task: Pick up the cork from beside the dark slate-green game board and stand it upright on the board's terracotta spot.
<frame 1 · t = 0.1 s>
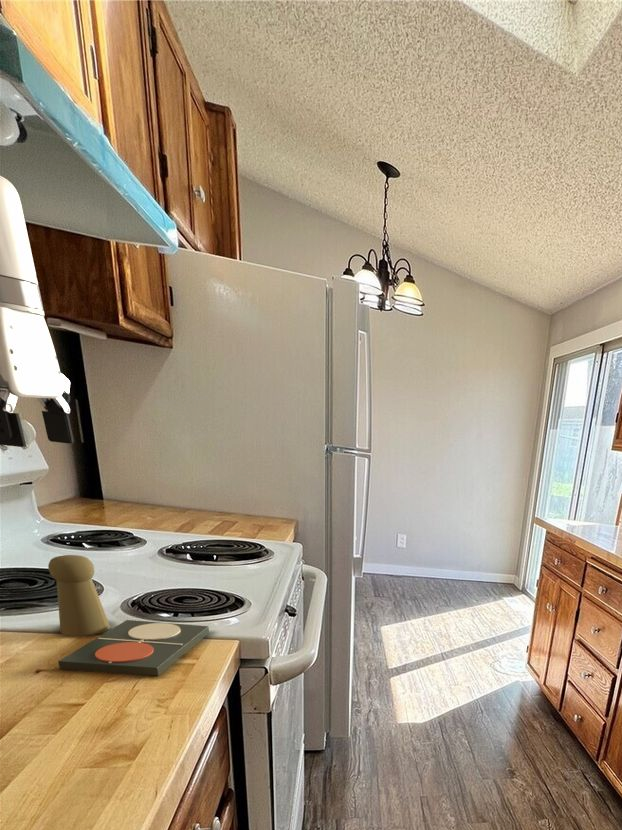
hand: (38, 443, 76), 25 cm above the worktop, tool pointing down, fingers open, 9 cm apart
cork: (86, 630, 84), on the worktop
board: (142, 649, 79), on the worktop
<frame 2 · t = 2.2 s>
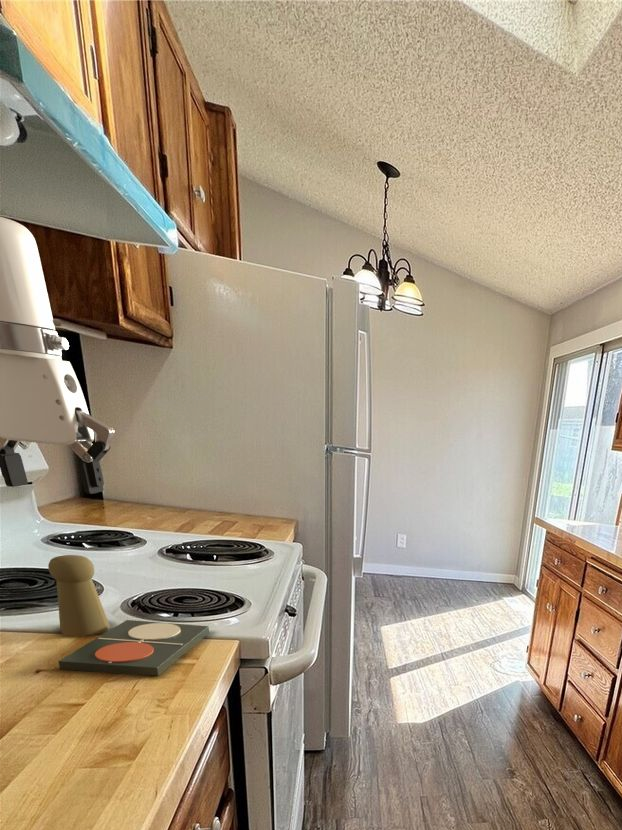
hand: (56, 488, 75), 20 cm above the worktop, tool pointing down, fingers open, 9 cm apart
nothing on the worktop moved.
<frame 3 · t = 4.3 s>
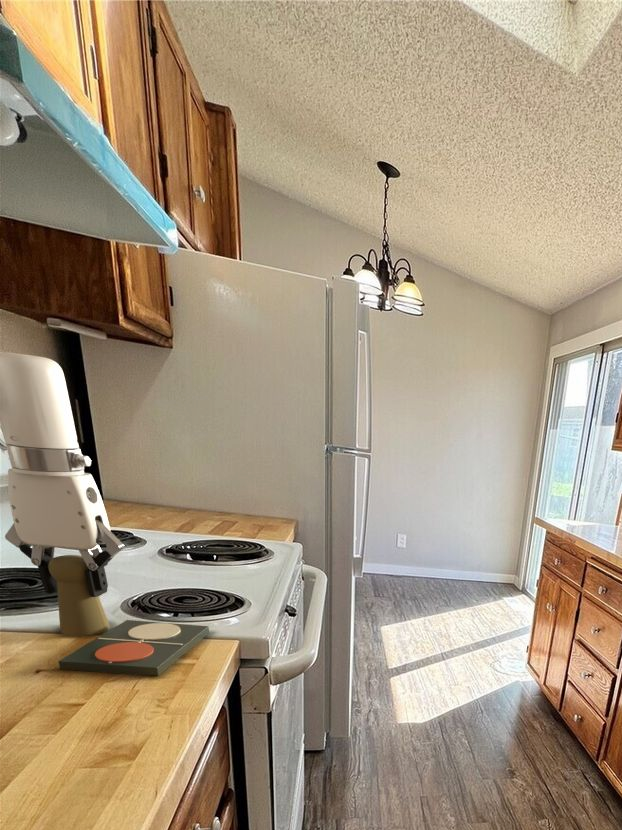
hand: (77, 591, 81), 6 cm above the worktop, tool pointing down, fingers closed on cork, 5 cm apart
cork: (86, 630, 84), on the worktop, touching gripper
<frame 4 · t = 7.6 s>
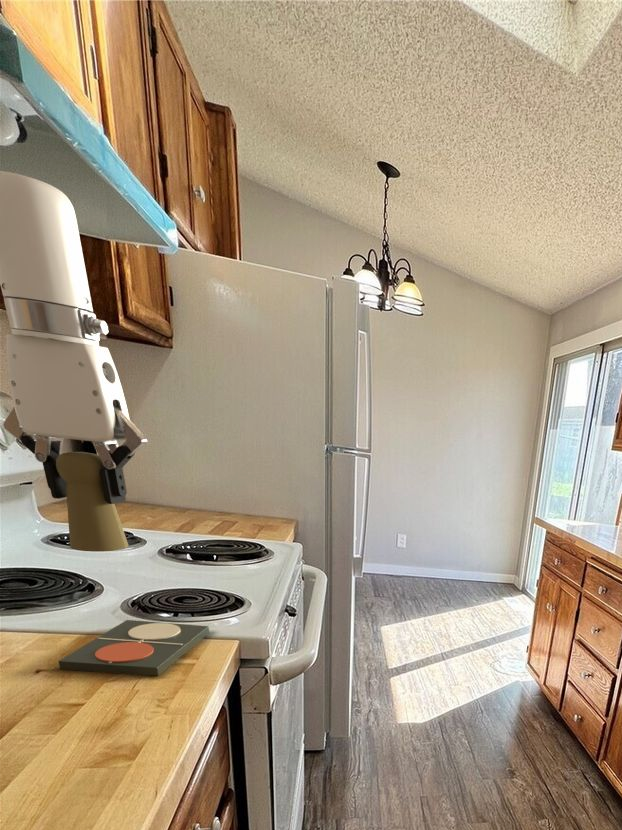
hand: (89, 498, 68), 21 cm above the worktop, tool pointing down, fingers closed on cork, 5 cm apart
cork: (100, 547, 70), point 15 cm above the worktop, touching gripper
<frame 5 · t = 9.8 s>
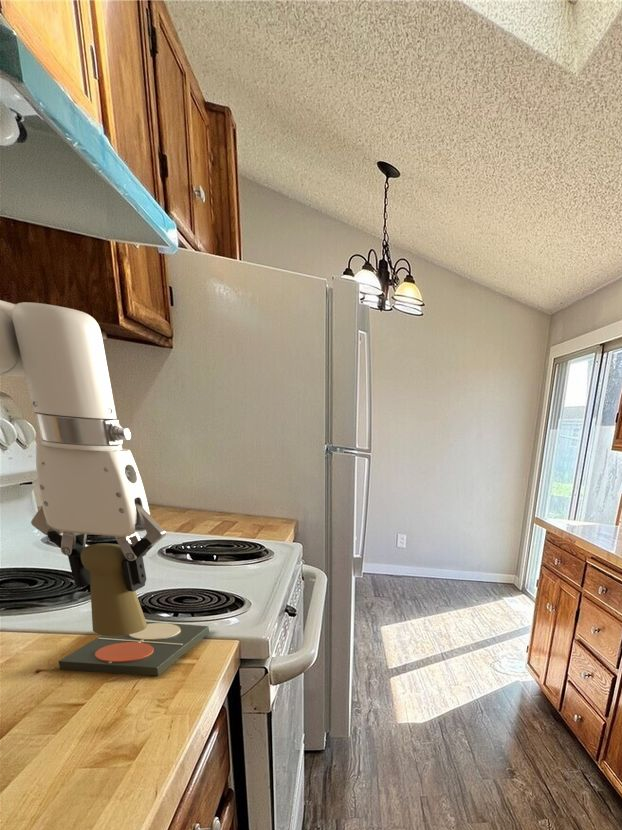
hand: (111, 585, 71), 11 cm above the worktop, tool pointing down, fingers closed on cork, 5 cm apart
cork: (120, 628, 74), point 5 cm above the worktop, touching gripper
when the fingers open (7 cm above the worktop, at t = 11.2 s): cork stays where it is, resting on board.
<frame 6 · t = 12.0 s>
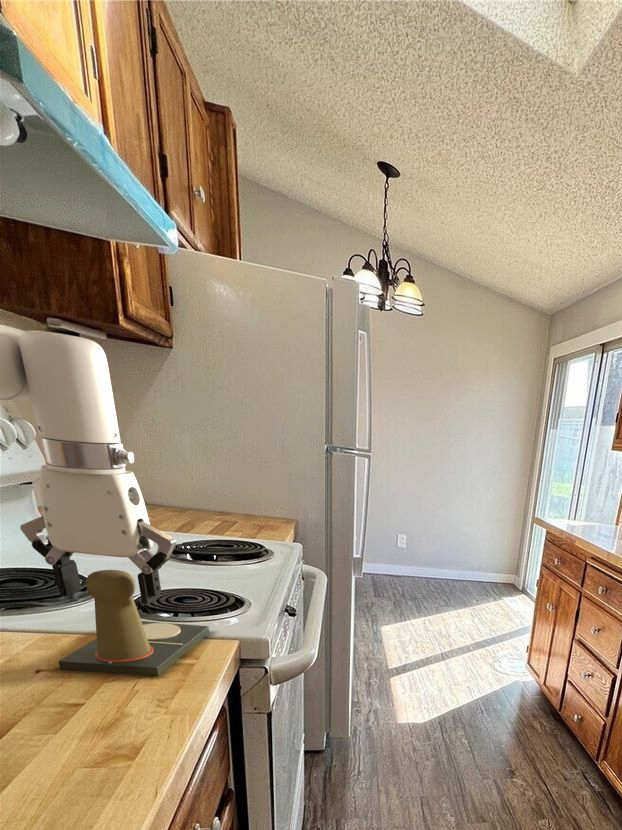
hand: (111, 597, 72), 9 cm above the worktop, tool pointing down, fingers open, 9 cm apart
cork: (124, 652, 75), point 1 cm above the worktop, touching board
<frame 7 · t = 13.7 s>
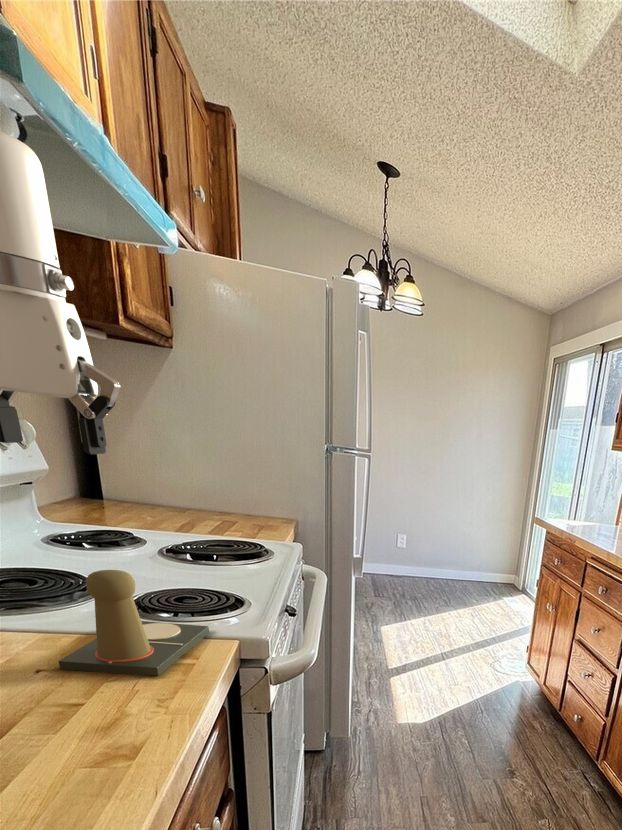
hand: (53, 447, 68), 26 cm above the worktop, tool pointing down, fingers open, 9 cm apart
nothing on the worktop moved.
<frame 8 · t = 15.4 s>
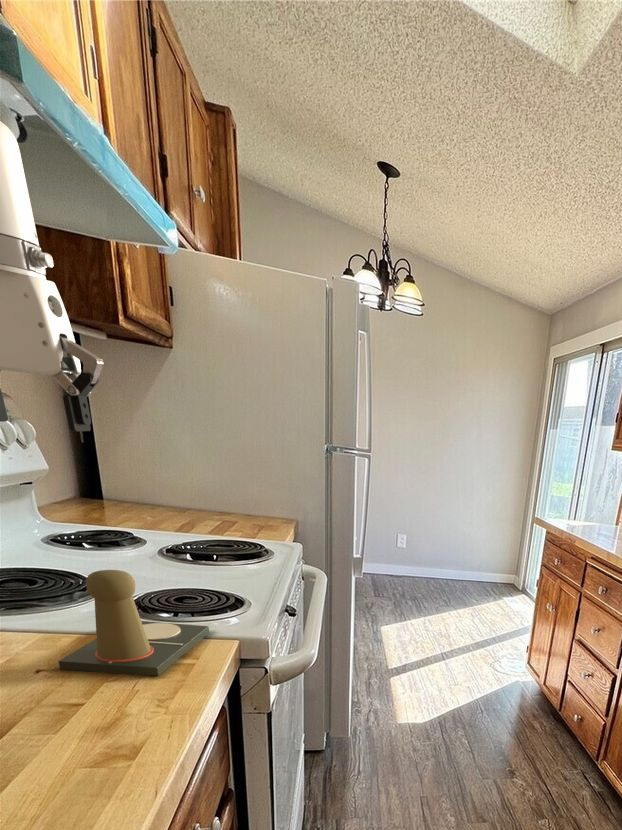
hand: (39, 426, 69), 28 cm above the worktop, tool pointing down, fingers open, 9 cm apart
nothing on the worktop moved.
at the end: cork 0.0 cm from the target spot on the board, point 1.2 cm above the board's base; cork tilted 0°; the gripper is holding nothing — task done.
